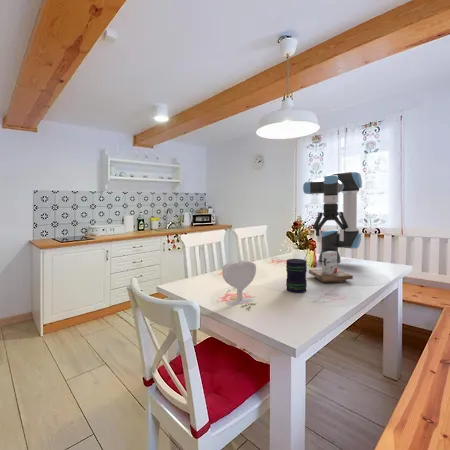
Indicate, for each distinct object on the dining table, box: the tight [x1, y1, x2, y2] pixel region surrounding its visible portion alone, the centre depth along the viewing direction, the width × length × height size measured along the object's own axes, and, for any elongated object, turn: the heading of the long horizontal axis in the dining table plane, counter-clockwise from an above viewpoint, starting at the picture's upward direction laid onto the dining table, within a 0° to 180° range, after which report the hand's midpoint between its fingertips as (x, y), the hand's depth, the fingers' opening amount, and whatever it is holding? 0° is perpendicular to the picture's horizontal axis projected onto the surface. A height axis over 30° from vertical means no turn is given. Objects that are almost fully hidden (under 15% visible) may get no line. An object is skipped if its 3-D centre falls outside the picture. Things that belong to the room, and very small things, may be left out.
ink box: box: [321, 251, 338, 274], centre depth 152 cm, size 8×5×12 cm, turn 130°
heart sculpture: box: [221, 259, 257, 307], centre depth 120 cm, size 16×5×18 cm, turn 118°
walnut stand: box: [308, 268, 354, 284], centre depth 153 cm, size 17×17×4 cm
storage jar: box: [285, 258, 308, 294], centre depth 135 cm, size 10×10×15 cm
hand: (330, 241), depth 151 cm, fingers open, 13 cm apart
